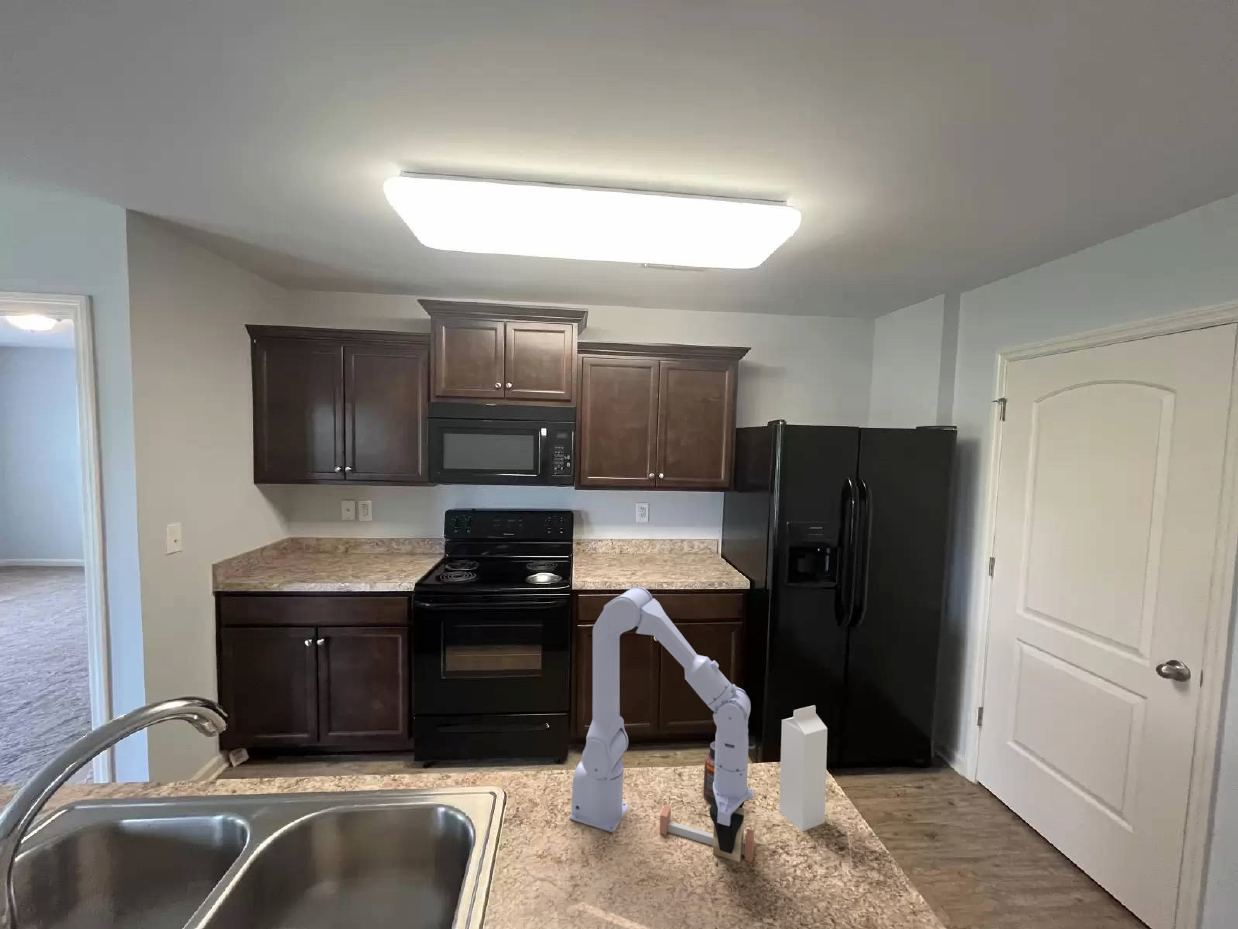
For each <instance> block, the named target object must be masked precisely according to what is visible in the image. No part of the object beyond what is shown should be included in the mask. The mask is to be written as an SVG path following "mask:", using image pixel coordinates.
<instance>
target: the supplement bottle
mask: <svg viewBox="0 0 1238 929" xmlns="http://www.w3.org/2000/svg"><path fill="white" fill-rule="evenodd" d="M704 757H705V758H704V767H703V769H704V770H703V772H704V774H703V799H704V800H705V802H707V804H709V805H710V806H711V804H713V805H717V803H716V800H715V796H714V792H713V782H714V768H715V741H713V742H710V745H709V751H708V753H706V754H705V756H704Z"/></svg>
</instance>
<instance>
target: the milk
mask: <svg viewBox="0 0 1238 929" xmlns="http://www.w3.org/2000/svg"><path fill="white" fill-rule="evenodd" d="M816 709H817V707H816V705H815V704H814V705H810V706H805V707H801V708H798V709H794V710H793V716H792V717H789V718H785V719H781V738H780V739H781V740H780V741H781V742H780V744H781V745H780V767H779V768H780V771H779V772H780V773H779V774H780V775H779V777H780V778H779V801H778V802H779V806H778V807H779V809H778V812H779V813H780V814H781V815H783V817H785V818H786V819H787V820H788V821H789V822H790V823H791V824H793V825H794V827H796V828H798V830H800V832H805V831H808V830H810V829H813V828H815V827H818V826H819V825H820V826H821V825H823V824H825V823H826V822H825V821H826V793H827V792H826V791H827V790H826V787H827V783H826V782H827V757H828V756H827V755H828V753H827V752H828V751H827V747H828V727H827V725H825V723H824V722H823V721H822V719H821V718H820V717H819V715H818V714H817V713H816Z"/></svg>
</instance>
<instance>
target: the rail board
mask: <svg viewBox="0 0 1238 929" xmlns="http://www.w3.org/2000/svg"><path fill="white" fill-rule="evenodd" d="M671 814H672V806H671V805H666V804H664V805H663V807H662V811H661V813H660V816H659V834H660V835H663V836H667V834H668V833H671V834H674V835H676V836H680V837H683V838H686V839H688V840H694V841H697V842H700V843H703V844H706V845H710V846H712V847H713V834H714V833H712V832H708V831H705V830H701V829H698V828H695V827H691V826H688V825H684V824H681V823H678V822H674V821H671V819H672V818H671V817H672V816H671ZM754 847H755V829H750V828H746V835H745V840H744V842H743V843H742V842H741V856H744V860H745V861H747V862H750V863H752V862H753V858H754V852H755V849H754Z"/></svg>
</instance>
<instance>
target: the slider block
mask: <svg viewBox="0 0 1238 929" xmlns="http://www.w3.org/2000/svg"><path fill="white" fill-rule="evenodd" d="M734 813H737V814H741V815H744V816H745V808H743V807H742V808H740V807H738V808H737V809H736V810H735V811H734ZM744 831H745V818H744V819H743V823H742V825H741V827H740V828H739V830H738V832H737V835H736V839H735V844H734V849H733V852H732V854H730V853H727V852H724V851H721V850H720V848H719V843H718V838H717V832H716V828H715V825H714V824H713V833H712V834H713V846H712V855H715V856H719V857H722V858H725V859H729V860H731V861H734V862H738V863H741V858H742V857H741V856H742V854H741V842H742V843H744V838H745V837H744V834H745V833H744Z"/></svg>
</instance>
